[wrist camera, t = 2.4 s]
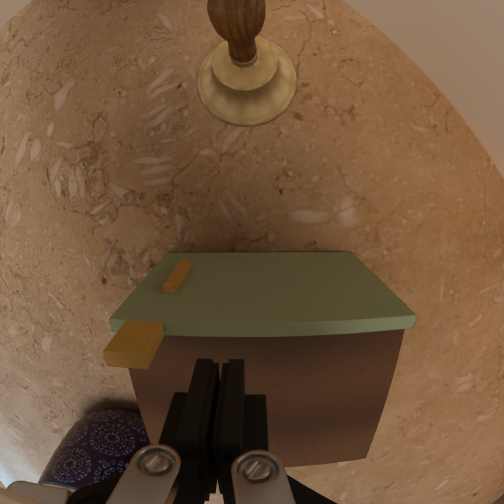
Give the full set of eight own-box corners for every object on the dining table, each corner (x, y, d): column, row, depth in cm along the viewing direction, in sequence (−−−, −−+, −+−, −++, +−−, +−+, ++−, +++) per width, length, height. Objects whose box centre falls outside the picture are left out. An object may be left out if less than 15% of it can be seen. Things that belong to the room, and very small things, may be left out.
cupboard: (169, 265, 28) (119, 331, 16) (348, 264, 28) (405, 328, 16) (182, 374, 31) (156, 461, 19) (335, 372, 31) (365, 458, 19)
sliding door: (167, 245, 27) (80, 336, 12) (351, 244, 27) (447, 331, 12) (168, 261, 27) (87, 363, 12) (350, 260, 27) (440, 357, 12)
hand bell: (214, 139, 25) (158, 102, 9) (185, 55, 23) (116, -48, 7) (309, 111, 24) (384, 44, 9) (277, 28, 22) (302, -94, 7)
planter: (62, 388, 32) (7, 466, 18) (180, 394, 32) (149, 505, 17) (107, 466, 36) (79, 537, 22) (209, 475, 36) (199, 561, 22)
